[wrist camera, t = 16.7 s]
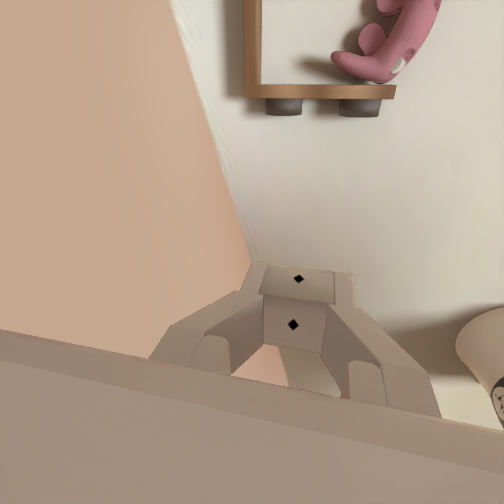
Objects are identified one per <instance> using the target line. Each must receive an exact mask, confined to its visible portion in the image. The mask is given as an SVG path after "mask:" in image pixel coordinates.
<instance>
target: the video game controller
mask: <svg viewBox="0 0 504 504" xmlns="http://www.w3.org/2000/svg"><path fill="white" fill-rule="evenodd" d="M441 1H442V0H376V4H377V9H378V12H379V13H380V14H381V15H382V16H392V15H395V14H397V13H398V12H401V14H400V16H399V18H398V20H397V22H396V24H395V26H394V28H393V29H392V31H391V33H390V35H389V36H388V38H387V39H386V37H385V33H384V30H383V28H382V27H381V26H380V25H379V24H376V23H371V24H368V25H367V26H366V27H364V28H363V30H362V31H361V33H360V35H359V38H358V44H359V47H360V49H361V51H362V53H363V54H364V55H365V56H360V55H357V54H353V53H350V52H347V51H335V52H333V53H332V54H331V60H332V62H333V63H334V64H335V65H337V66H338V67H339V68H341V69H343V70H344V71H346V72H348V73H350V74H352V75H354V76H356V77H359V78H362V79H365V80H369V81H372V82H374V83H377V84H384V83H386V82H389V81H390V80H392V79H393V78H394V77H395V76H396V75H397V74H398V73H399V72H400V71H401V70H402V69H403V68H404V67H405V66H406V65H407V64H408V63H409V62H410V60H411V59H412V58H413V57H414V55H415V54H416V53H417V51H418V50H419V48H420V47H421V45H422V44H423V42H424V41H425V39H426V37H427V36H428V34H429V32H430V30H431V28H432V26H433V23H434V21H435V19H436V16H437V13H438V11H439V8H440V4H441Z"/></svg>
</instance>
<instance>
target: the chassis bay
mask: <svg viewBox="0 0 504 504" xmlns="http://www.w3.org/2000/svg"><path fill="white" fill-rule="evenodd" d="M243 24H244V95H245V98H266V114H267V115H274V116H294V115H301V114H302V101H303V98H313V99H341V103H340V110H339V115H340V116H345V117H378V115H379V110H380V105H381V100H382V99H394V96H395V91H396V86H397V85H261V28H262V0H243Z"/></svg>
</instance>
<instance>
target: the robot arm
mask: <svg viewBox="0 0 504 504" xmlns="http://www.w3.org/2000/svg"><path fill="white" fill-rule="evenodd" d="M263 344H269V345H276V346H282V347H289V348H295V349H300V350H305V351H309V352H314V353H319V354H321V357H322V359H323V360H324V362H325V364H326V366H327V367H328V369H329V371H330V373H331V374H332V376H333V378H334V380H335V381H336V383H337V385H338V387H339V388H340V390H341V392H342V393H341V397H340V398H339V397H334V396H329V395H324V394H319V393H314V392H309V391H304V390H299V389H294V388H289V387H284V386H279V385H274V384H269V383H264V382H259V381H254V380H249V379H244V378H239V377H234V376H231V374H232V373H234V372H235V371H236V370H237V369H238V368H239V367H240V366H241V365H242V364H243V363H244V362H245V361H246V360H247V359H248V358H250V356H252V355H253V354H254V353H255V352H256V351H257V350H258V349H259V348H260V347H261V346H262V345H263ZM455 349H456V353H457V355H458V357H459V358H460V360H461V361H462V362H463V363H464V364H465V365H466V366H467V367H468V368H469V369H470V371H471V372H472V373H473V374H474V375H475V377H476V378H477V379H478V381H479V382H480V384H481V385H482V386H483V388H484V389H485V391H486V392H487V394H488V395H489V397H490V398H491V400H492V403H493V406H494V409H495V411H496V414H497V416H498V418H499V420H500V422H501V424H502V426H503V428H504V307H501V308H497V309H493V310H490V311H488V312H485V313H483V314H481V315H479V316H477V317H475V318H474V319H472V320H471V321H469V322H468V323H467V324H466V325H465V326H464V327H463V328H462V329H461V331H460V332H459V334H458V336H457V338H456V342H455ZM0 504H504V431H501V430H496V429H491V428H486V427H481V426H476V425H471V424H466V423H461V422H456V421H452V420H447V419H442V416H441V413H440V410H439V407H438V404H437V401H436V398H435V395H434V391H433V388H432V385H431V382H430V379H429V376H428V373H427V371H426V370H425V369H424V368H423V367H422V366H421V365H419V364H418V363H417V362H416V361H415V360H414V359H413V358H412V357H411V356H410V355H409V354H408V353H407V352H406V351H405V350H404V349H403V348H402V347H401V346H400V345H399V344H398V343H397V342H396V341H394V340H393V339H392V338H391V337H390V336H389V335H388V334H387V333H386V332H385V331H384V330H383V329H382V328H381V327H380V326H379V325H378V324H377V323H376V322H375V321H374V320H373V319H372V318H371V317H369V316H368V315H367V314H366V313H365V312H364V311H363V310H362V309H361V308H356V304H355V295H354V285H353V276H352V274H351V273H346V272H332V271H322V270H311V269H301V268H297V267H290V266H283V265H276V264H268V263H261V262H253V263H252V264H251V266H250V269H249V271H248V273H247V275H246V278H245V280H244V282H243V284H242V287H241V289H240V291H234V292H232V293H230V294H228V295H226V296H224V297H223V298H221V299H219V300H217V301H216V302H213V303H212V304H210V305H208V306H206V307H204V308H203V309H201V310H199V311H197V312H195V313H193V314H192V315H190V316H188V317H186V318H184V319H182V320H181V321H179V322H177V323H175V324H173V325H171V326H170V327H169V328H168V330H167V331H166V333H165V334H164V336H163V337H162V339H161V340H160V342H159V343H158V345H157V346H156V348H155V349H154V351H153V352H152V354H151V355H150V357H149V358H148V359H145V358H140V357H135V356H130V355H125V354H121V353H116V352H111V351H106V350H100V349H95V348H91V347H86V346H81V345H76V344H71V343H66V342H61V341H56V340H51V339H46V338H41V337H36V336H31V335H26V334H22V333H16V332H12V331H7V330H2V329H0Z"/></svg>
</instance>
